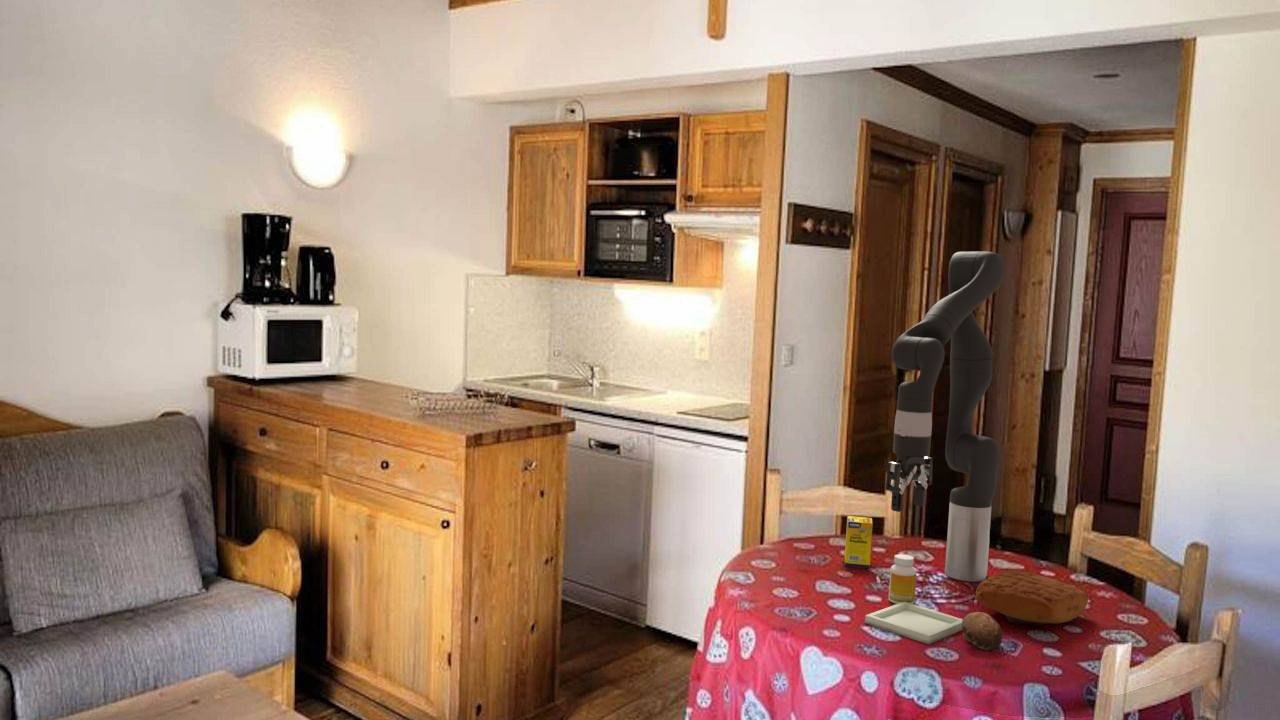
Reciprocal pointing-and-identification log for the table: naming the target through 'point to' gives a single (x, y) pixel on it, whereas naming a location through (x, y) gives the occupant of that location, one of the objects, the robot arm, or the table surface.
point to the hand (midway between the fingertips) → (907, 508)
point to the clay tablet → (1031, 597)
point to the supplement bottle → (902, 580)
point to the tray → (915, 622)
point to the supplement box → (858, 542)
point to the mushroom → (982, 630)
